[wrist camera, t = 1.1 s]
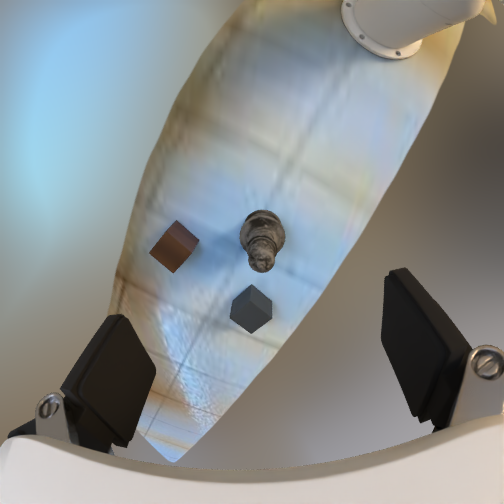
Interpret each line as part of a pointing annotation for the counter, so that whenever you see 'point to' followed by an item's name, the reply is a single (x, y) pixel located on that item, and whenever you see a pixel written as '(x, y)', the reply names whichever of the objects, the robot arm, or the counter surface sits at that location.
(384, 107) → the counter surface
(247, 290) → the slate block
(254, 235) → the stone chess piece
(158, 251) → the walnut block
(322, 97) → the counter surface
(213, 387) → the counter surface
